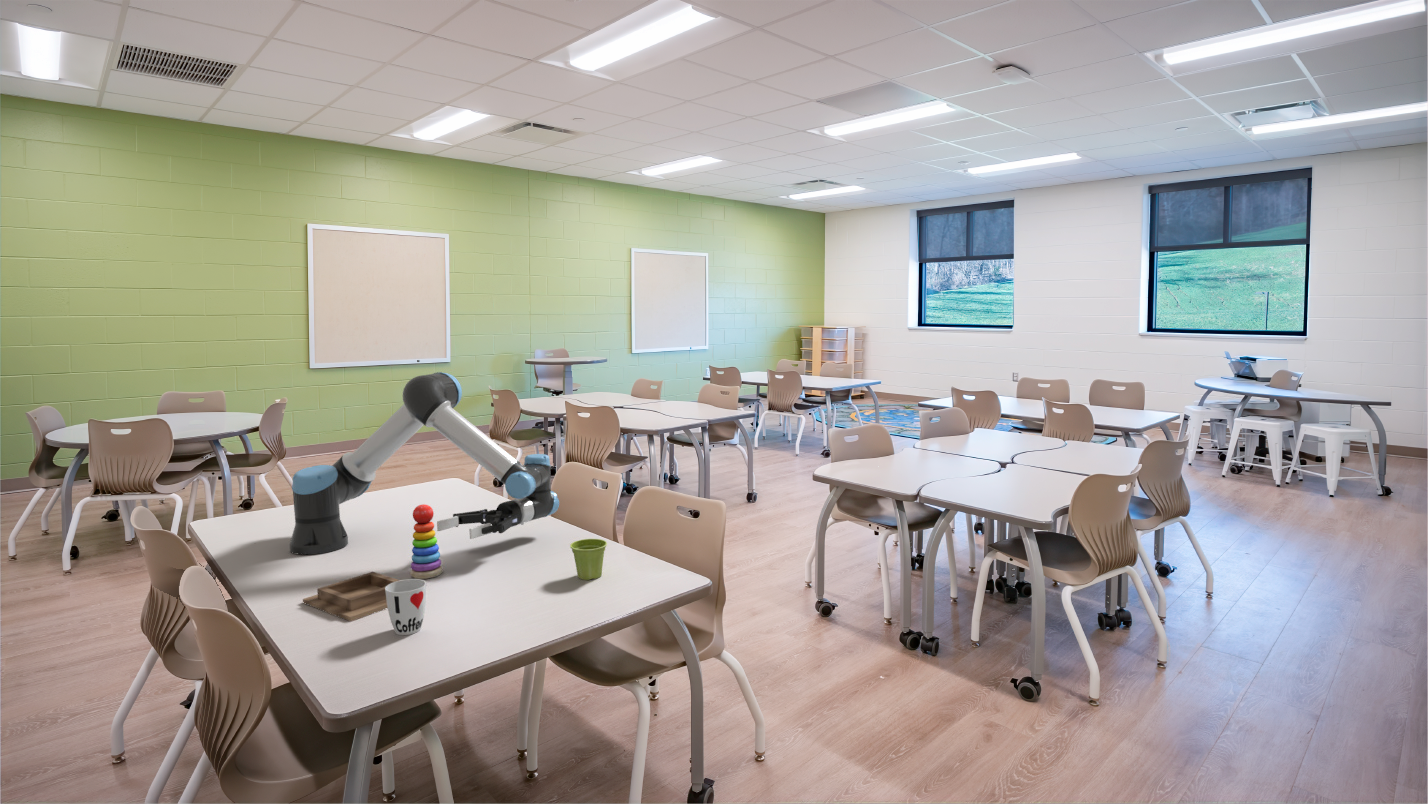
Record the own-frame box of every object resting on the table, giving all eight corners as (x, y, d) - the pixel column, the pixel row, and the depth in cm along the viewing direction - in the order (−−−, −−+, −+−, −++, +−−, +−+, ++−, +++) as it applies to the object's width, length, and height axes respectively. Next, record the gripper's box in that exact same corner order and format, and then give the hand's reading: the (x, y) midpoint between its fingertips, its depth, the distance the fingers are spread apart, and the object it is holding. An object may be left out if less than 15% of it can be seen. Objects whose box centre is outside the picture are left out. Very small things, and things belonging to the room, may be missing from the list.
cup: (389, 641, 154) (386, 594, 153) (386, 627, 161) (383, 582, 160) (430, 633, 158) (428, 588, 157) (425, 619, 165) (423, 576, 164)
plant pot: (596, 584, 186) (595, 551, 185) (564, 580, 190) (563, 547, 189) (614, 572, 195) (613, 540, 194) (582, 568, 198) (582, 537, 197)
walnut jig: (303, 602, 175) (301, 588, 175) (373, 580, 190) (372, 567, 190) (350, 621, 164) (349, 606, 164) (421, 595, 179) (421, 581, 179)
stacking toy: (449, 571, 197) (446, 502, 195) (428, 581, 189) (425, 509, 187) (425, 568, 199) (421, 500, 197) (403, 578, 192) (399, 507, 190)
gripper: (545, 531, 212) (485, 550, 194) (486, 518, 225) (425, 536, 208) (544, 505, 211) (484, 523, 193) (485, 494, 224) (424, 510, 207)
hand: (453, 529), depth 200 cm, fingers open, 13 cm apart
